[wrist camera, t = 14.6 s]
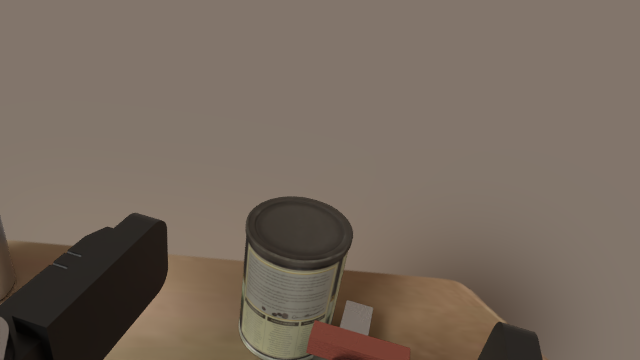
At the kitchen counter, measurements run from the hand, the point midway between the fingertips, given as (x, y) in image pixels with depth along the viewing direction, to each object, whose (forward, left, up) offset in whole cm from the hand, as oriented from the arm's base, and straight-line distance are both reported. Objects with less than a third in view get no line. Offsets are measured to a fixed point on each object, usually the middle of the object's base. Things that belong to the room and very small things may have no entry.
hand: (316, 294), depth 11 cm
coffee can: (-22, +16, -32) cm, 42 cm away
